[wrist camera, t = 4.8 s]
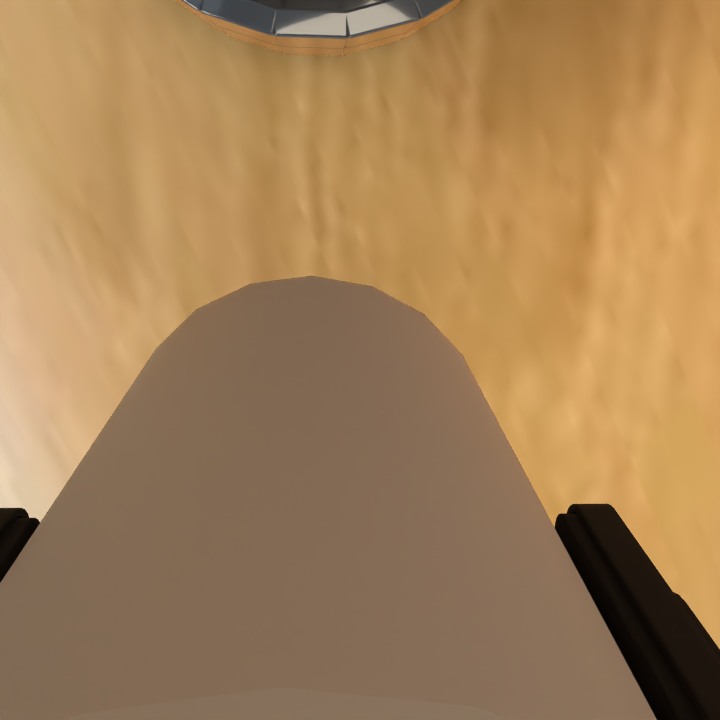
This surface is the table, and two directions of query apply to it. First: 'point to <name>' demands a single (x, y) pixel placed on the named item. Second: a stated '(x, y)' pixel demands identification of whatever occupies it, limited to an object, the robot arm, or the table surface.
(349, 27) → the bowl
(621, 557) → the robot arm
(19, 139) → the table surface
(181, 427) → the can
